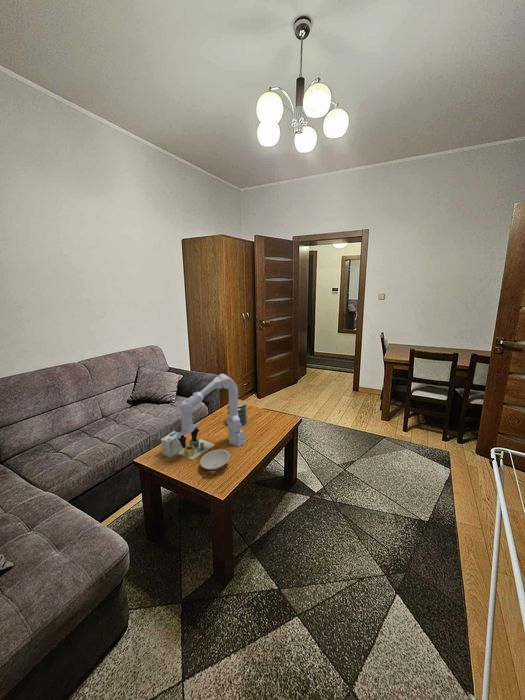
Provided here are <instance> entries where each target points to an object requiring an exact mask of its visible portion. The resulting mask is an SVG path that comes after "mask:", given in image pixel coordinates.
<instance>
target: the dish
mask: <svg viewBox="0 0 525 700" xmlns="http://www.w3.org/2000/svg"><path fill="white" fill-rule="evenodd" d="M229 459H230V453H229V451H228V450H224V449H215V450H211V451H209V452H208V451H207V453H205V454H204V455H203V456H202V457H201V459H200V460H199V461H200V463H199V464H200V466H201V468H203V469H205V470H208V471H216V470H219V469H221V468H222V467H223V466H224V465H225V464H227V463H228V462H229Z"/></svg>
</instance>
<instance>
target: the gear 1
mask: <svg viewBox="0 0 525 700" xmlns="http://www.w3.org/2000/svg"><path fill="white" fill-rule="evenodd" d="M199 440H200V439H199V438H196V442H194V443H193V442H192V438H191V439H190V440H188V446H189V445H191V446H194V447H195V449H197V448H198V447H199Z"/></svg>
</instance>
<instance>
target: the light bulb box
mask: <svg viewBox="0 0 525 700" xmlns="http://www.w3.org/2000/svg"><path fill="white" fill-rule="evenodd" d="M179 432H180V431H179ZM179 432H178V431H176V430H172V432H170V433H169V434H167V435H166V436H164V437H162V438H161V439H160V444H161V453H162V455H163V456H166V457H169V458H172V457H173V456H175V455H176V454H178V453H179V452H180V451H182V450H184V448H183V447H182V445H181V443H180V441H179V440H178V438H177V434H178V433H179Z"/></svg>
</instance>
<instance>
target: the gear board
mask: <svg viewBox="0 0 525 700" xmlns="http://www.w3.org/2000/svg"><path fill="white" fill-rule="evenodd" d="M192 442H193V443H194V441H192ZM214 446H215V443H212V442H209V441H206V440H204V439H201V438H200V439H199V447H198V448H197V449H195V454H194V455H193V456H191V457H189V456H187V457H186V456H185V452H184V449H181V450H180V451H179V452H177V454H178V455H180V456H182V457H185V458H188V459H190V460H194V459H196V458H197V457H199V456H200V455H202V454H203V453H206V452H208V450H209V449H211V448H212V447H214Z"/></svg>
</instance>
